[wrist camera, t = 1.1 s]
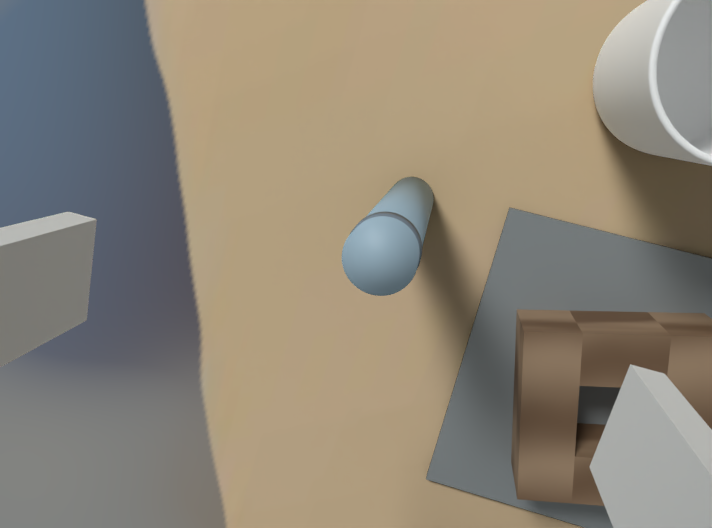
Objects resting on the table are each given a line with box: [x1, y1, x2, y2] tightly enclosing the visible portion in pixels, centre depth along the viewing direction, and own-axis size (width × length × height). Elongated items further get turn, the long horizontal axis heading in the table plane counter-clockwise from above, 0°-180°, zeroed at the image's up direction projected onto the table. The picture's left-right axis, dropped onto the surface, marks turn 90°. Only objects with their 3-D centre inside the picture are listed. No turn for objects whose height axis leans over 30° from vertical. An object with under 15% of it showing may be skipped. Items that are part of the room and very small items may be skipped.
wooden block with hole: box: [511, 309, 712, 506], centre depth 35 cm, size 11×11×4 cm
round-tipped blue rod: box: [342, 177, 434, 296], centre depth 28 cm, size 3×3×16 cm
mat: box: [426, 208, 712, 528], centre depth 37 cm, size 20×18×1 cm
